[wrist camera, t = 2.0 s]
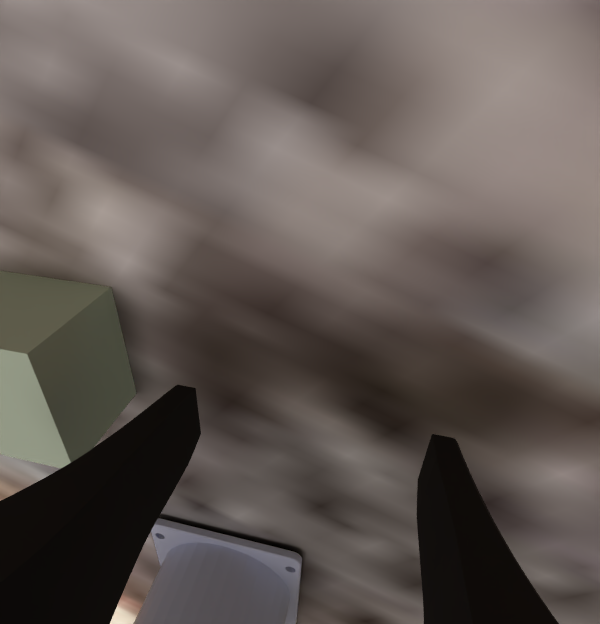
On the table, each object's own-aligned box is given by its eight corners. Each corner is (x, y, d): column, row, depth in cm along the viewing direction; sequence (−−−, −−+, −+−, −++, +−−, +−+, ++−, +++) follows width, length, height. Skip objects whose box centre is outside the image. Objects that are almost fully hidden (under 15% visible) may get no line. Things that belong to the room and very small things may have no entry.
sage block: (138, 391, 17) (74, 471, 14) (33, 371, 18) (-51, 442, 15) (113, 285, 15) (26, 354, 11) (-9, 267, 15) (-123, 326, 12)
